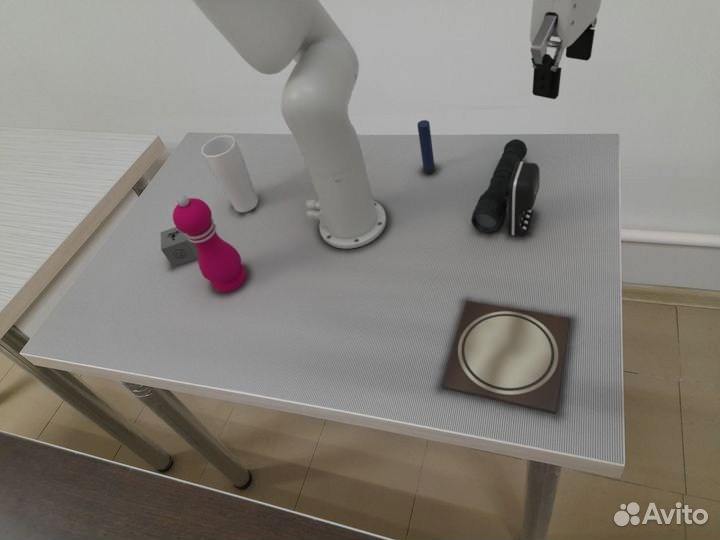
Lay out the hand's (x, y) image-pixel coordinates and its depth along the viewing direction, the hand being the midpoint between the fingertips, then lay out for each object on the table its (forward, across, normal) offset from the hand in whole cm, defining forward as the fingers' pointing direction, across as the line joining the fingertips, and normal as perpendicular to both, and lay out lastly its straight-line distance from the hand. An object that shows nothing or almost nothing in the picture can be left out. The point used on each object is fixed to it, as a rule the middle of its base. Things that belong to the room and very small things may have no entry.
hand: (562, 76), depth 68 cm
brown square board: (+27, +26, +6) cm, 38 cm away
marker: (+28, -4, -26) cm, 38 cm away
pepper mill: (+28, +37, -43) cm, 63 cm away
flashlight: (+28, -4, -10) cm, 30 cm away
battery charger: (+28, +1, -3) cm, 28 cm away
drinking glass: (+28, +20, -55) cm, 65 cm away
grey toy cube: (+28, +37, -56) cm, 73 cm away
